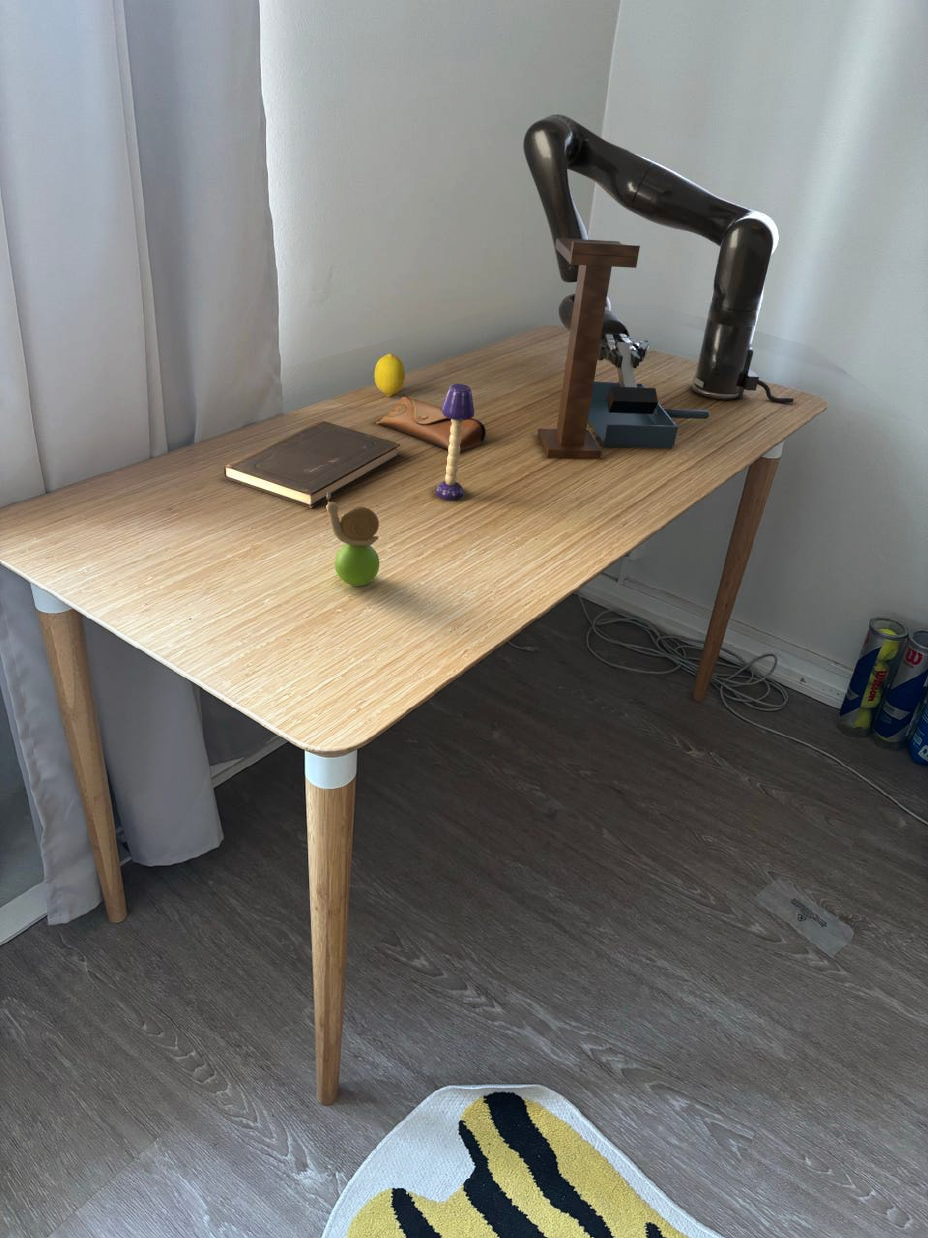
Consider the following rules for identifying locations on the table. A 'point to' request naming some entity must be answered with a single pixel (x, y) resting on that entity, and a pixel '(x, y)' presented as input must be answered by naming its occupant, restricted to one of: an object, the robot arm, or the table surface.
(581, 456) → the stand
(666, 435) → the scoop
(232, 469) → the hardcover book
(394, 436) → the table surface
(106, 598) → the table surface
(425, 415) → the sunglasses case
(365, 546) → the snail figurine
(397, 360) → the lemon
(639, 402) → the t-shaped mallet
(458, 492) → the toy lamp
